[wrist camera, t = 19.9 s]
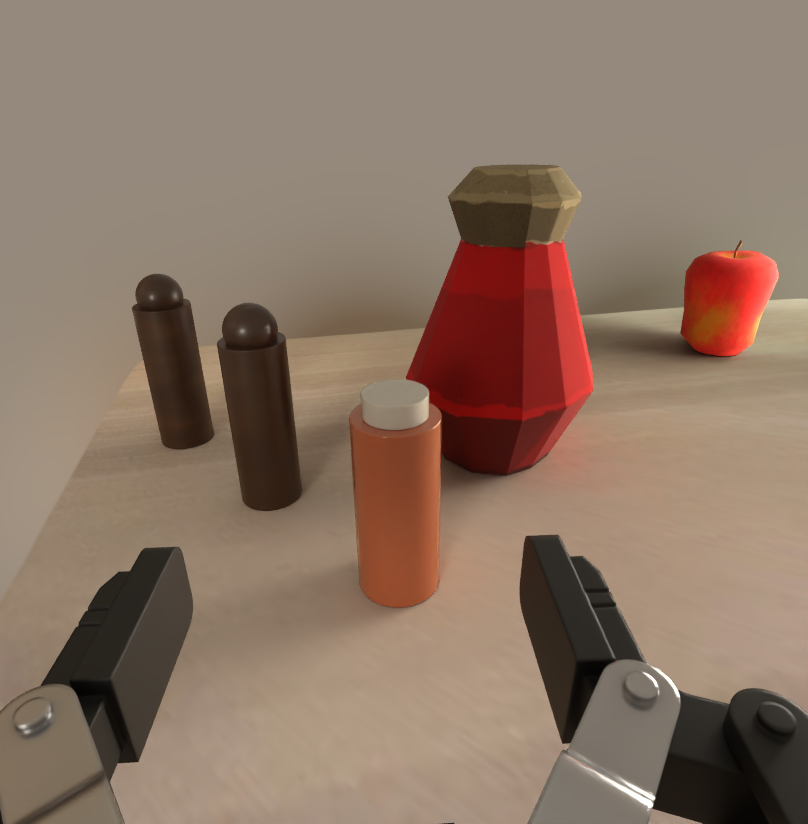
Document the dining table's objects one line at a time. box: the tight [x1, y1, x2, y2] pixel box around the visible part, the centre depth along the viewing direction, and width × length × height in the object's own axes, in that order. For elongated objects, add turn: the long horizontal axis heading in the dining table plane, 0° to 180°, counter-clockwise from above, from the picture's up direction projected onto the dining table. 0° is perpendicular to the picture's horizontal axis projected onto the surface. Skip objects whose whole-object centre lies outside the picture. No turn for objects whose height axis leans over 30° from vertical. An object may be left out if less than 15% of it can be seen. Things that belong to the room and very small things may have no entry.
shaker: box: [349, 379, 442, 608], centre depth 29 cm, size 4×4×11 cm
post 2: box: [217, 303, 302, 511], centre depth 36 cm, size 4×4×13 cm
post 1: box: [132, 274, 214, 449], centre depth 44 cm, size 4×4×13 cm
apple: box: [681, 241, 778, 356], centre depth 61 cm, size 9×8×12 cm
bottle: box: [406, 165, 593, 475], centre depth 41 cm, size 16×14×20 cm
